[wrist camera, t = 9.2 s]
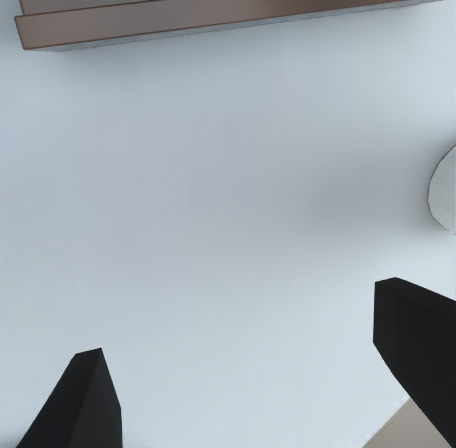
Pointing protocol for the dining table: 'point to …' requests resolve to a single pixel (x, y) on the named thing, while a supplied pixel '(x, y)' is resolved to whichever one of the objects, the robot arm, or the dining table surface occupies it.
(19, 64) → the dining table surface
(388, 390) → the dining table surface
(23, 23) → the shelf
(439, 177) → the white cup
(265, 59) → the dining table surface
